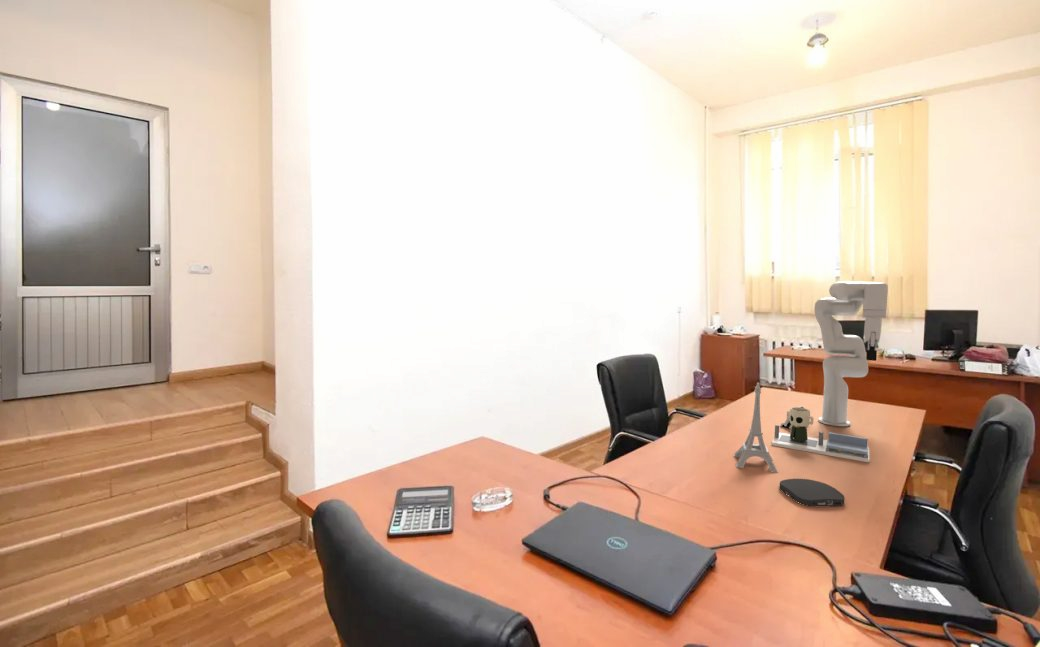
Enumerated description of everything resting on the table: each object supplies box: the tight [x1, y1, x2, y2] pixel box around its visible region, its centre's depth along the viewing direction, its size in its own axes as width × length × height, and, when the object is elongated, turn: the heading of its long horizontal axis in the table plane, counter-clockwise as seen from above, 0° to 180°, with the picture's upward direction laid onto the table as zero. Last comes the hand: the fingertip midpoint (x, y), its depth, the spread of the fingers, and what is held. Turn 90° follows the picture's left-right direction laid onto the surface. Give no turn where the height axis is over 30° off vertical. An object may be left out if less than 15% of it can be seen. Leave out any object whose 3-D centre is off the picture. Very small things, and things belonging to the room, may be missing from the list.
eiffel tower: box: [733, 382, 779, 473], centre depth 172 cm, size 13×13×30 cm
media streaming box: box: [778, 478, 845, 507], centre depth 147 cm, size 15×15×3 cm
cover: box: [827, 431, 869, 454], centre depth 181 cm, size 8×12×4 cm, turn 54°
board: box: [771, 424, 870, 463], centre depth 190 cm, size 16×32×6 cm, turn 54°
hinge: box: [779, 405, 807, 430], centre depth 219 cm, size 17×5×10 cm, turn 133°
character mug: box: [786, 406, 815, 442], centre depth 194 cm, size 11×7×13 cm, turn 28°
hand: (871, 360), depth 189 cm, fingers closed
